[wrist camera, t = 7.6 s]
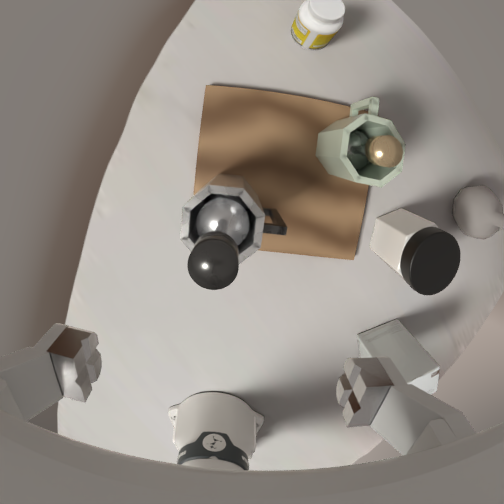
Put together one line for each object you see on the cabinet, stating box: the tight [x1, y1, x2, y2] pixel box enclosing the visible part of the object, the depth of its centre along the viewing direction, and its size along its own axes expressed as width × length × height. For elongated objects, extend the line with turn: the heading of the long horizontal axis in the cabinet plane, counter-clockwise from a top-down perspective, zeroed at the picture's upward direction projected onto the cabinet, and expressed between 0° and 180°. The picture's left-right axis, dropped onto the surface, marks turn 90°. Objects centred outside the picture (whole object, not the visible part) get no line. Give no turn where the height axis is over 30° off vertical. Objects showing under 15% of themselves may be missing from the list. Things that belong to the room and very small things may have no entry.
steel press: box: [180, 174, 287, 265], centre depth 33 cm, size 7×10×13 cm
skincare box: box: [357, 319, 440, 395], centre depth 41 cm, size 8×6×15 cm
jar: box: [370, 208, 460, 295], centre depth 37 cm, size 9×8×12 cm
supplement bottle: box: [291, 0, 345, 50], centre depth 28 cm, size 5×5×10 cm
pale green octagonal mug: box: [315, 97, 406, 188], centre depth 32 cm, size 10×7×10 cm
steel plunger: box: [188, 197, 249, 290], centre depth 23 cm, size 5×5×11 cm
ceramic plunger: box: [347, 130, 403, 169], centre depth 29 cm, size 5×5×10 cm
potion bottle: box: [452, 185, 504, 239], centre depth 33 cm, size 9×9×18 cm
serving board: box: [194, 85, 369, 260], centre depth 38 cm, size 21×23×1 cm
